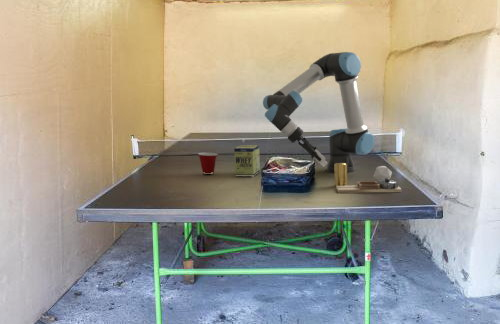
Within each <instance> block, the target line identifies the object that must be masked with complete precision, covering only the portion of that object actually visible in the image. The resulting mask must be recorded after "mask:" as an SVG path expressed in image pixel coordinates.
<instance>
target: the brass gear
mask: <svg viewBox="0 0 500 324" xmlns="http://www.w3.org/2000/svg"><path fill="white" fill-rule="evenodd" d="M334 170H335V172H334V187H336V186H348V172H347V164H346V163H335V164H334Z"/></svg>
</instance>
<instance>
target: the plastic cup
mask: <svg viewBox="0 0 500 324" xmlns="http://www.w3.org/2000/svg"><path fill="white" fill-rule="evenodd" d="M197 155H198V156H199V160H200V161H199V162H200V167H201V172H202V173H203V172H205V173H211V172H214V173H215V167H216V160H217V156H218V155H219V154H218V153H216V152H198V153H197Z"/></svg>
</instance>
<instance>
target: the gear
mask: <svg viewBox="0 0 500 324" xmlns="http://www.w3.org/2000/svg"><path fill="white" fill-rule="evenodd" d="M377 183H378V184H379V185H380V189H396V188H397V187H398V186H399V182H398V181H396V180H393V179H391V177H390V178H385V180H381V181H380V180H379V181H377Z"/></svg>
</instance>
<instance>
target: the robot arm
mask: <svg viewBox="0 0 500 324" xmlns="http://www.w3.org/2000/svg"><path fill="white" fill-rule="evenodd" d="M361 68H362V62H361V59H360V57H359V56H358V55H357V54H356V53H354V52H349V51H344V52H341V51H340V52H332V53H327V54H326V55H323V56H322V57H320V58H319V59H317V60H316V61H314V62H312V63H311V64H310V65H309V68H308V69H306V70H305V71H304V72H302V73H301V74H299V75H298V76H296V77H295V78H294V79H293V80H291V81H290V82H288V83H287V84H286V85H284V86H283V87H282V88H280V89H279V90H277V91H276V92H274V93H273V94H269V95H266V96H265V97H263V100H262V105H263V107H264V109H265V110H267V111H266V112H265V113H264V117H265V118H266V119H267V120H268V121H269V122H270V123H271V124H272V125H274V127H275V128H276V129H277V130H278V131H280V132H281V133H280V135H284V136H285V137H286V138H287V139H288V140H289V141H290V142H291V143H295V142H296V141H297V142H298V145H299V146H301V147H302V149H304V150H305V151H306V152H307V153H308V154H309V155H310V156H311V157H310V158H311V159H314V160H316V162H317V163H318V164H320V166H322V167H323V168H324V167H326V171H327V172H330V173H335V170H334V164H335V163H346V164H347V173H350V172H351V173H352V172H354V171H355V164H354V161H353V159H352V154H353V155H368V154H369V153H370V152H372V150H373V148H374V146H375V137H374V135H373V134H372V133H371V132H369V130H368V129H369V128H368V127H367V125H365V123H364V118H363V113H362V108H361V102H360V96H359V90H358V86H357V79H358V78H359V75H358V74H359V73H360V72H361ZM328 77H334V81H335V82H336V83H337V84H339V92H340V96H341V101H342V107H343V112H344V117H345V122H346V123H345V124H346V128H339V129H332V130H330V132H329V137H328V138H329V158H328V162H327V161H326V157H325V156H324V155H323V154H322V153H321V152H320V151H319V150H317V147H316V146H315V145H314V146H313V145H312V143H310V141H309V140H308V139H307V138H306V137H305V136H303V134H304V130H303V129H302V128H301V127H300V126H298V124H296V122H295V121H293V120H292V119H291V117H290V116H291V115H292V114H293V113H294V112H295V110H296V109H298V108H299V107H300V106H301V104H302V102H303V97H302V96H301V93H302V92H303V91H305V90H307V89H308V88H309V87H311V86H312V85H313V84H315V83H316V82H317V81H322V80H323V79H325V78H328Z"/></svg>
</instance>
